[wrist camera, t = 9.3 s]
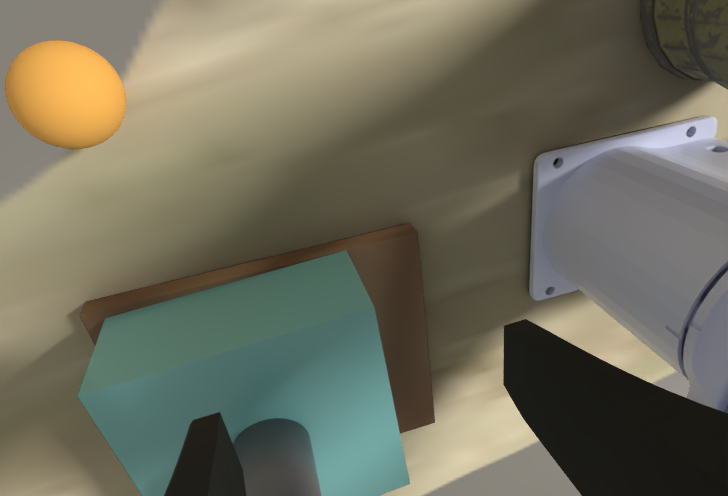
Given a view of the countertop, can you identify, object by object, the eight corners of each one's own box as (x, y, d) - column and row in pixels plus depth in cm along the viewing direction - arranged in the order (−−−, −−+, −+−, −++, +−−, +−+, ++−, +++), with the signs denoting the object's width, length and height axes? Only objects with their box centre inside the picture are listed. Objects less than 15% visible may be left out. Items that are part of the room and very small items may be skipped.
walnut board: (409, 223, 22) (417, 232, 21) (428, 409, 28) (435, 422, 27) (85, 301, 20) (79, 315, 19) (179, 486, 26) (177, 503, 25)
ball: (112, 29, 16) (90, 35, 13) (146, 124, 18) (133, 149, 15) (7, 45, 16) (-38, 57, 13) (52, 143, 17) (20, 171, 14)
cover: (346, 250, 21) (412, 385, 14) (382, 411, 26) (445, 574, 19) (105, 318, 19) (37, 509, 12) (191, 475, 24) (179, 678, 17)
